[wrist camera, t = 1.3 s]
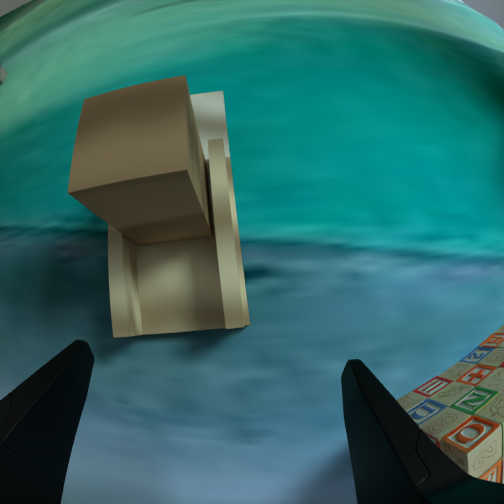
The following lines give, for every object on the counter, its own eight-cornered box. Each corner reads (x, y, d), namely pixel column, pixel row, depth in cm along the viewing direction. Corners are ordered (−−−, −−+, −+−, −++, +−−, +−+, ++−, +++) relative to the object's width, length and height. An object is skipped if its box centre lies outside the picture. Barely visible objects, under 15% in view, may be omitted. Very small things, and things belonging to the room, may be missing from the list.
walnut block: (212, 236, 23) (186, 169, 12) (139, 245, 23) (67, 192, 12) (207, 167, 24) (185, 75, 14) (139, 178, 24) (84, 99, 13)
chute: (249, 324, 23) (250, 326, 19) (129, 334, 23) (108, 337, 19) (223, 97, 28) (221, 70, 24) (129, 113, 27) (117, 89, 23)
